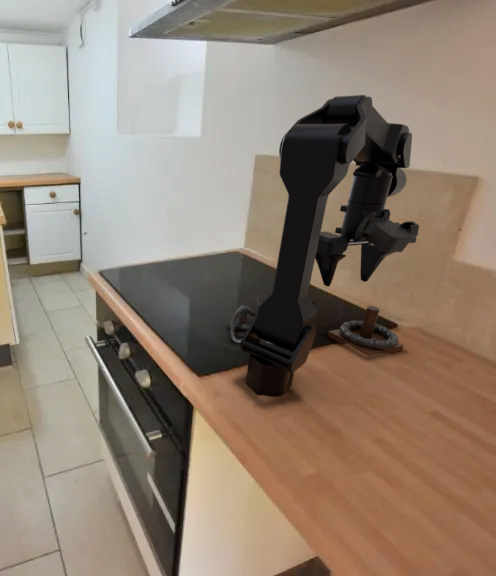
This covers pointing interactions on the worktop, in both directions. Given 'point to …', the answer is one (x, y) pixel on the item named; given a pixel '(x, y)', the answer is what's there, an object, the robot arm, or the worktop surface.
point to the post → (365, 334)
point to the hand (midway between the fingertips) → (345, 283)
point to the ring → (369, 343)
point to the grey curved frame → (242, 323)
